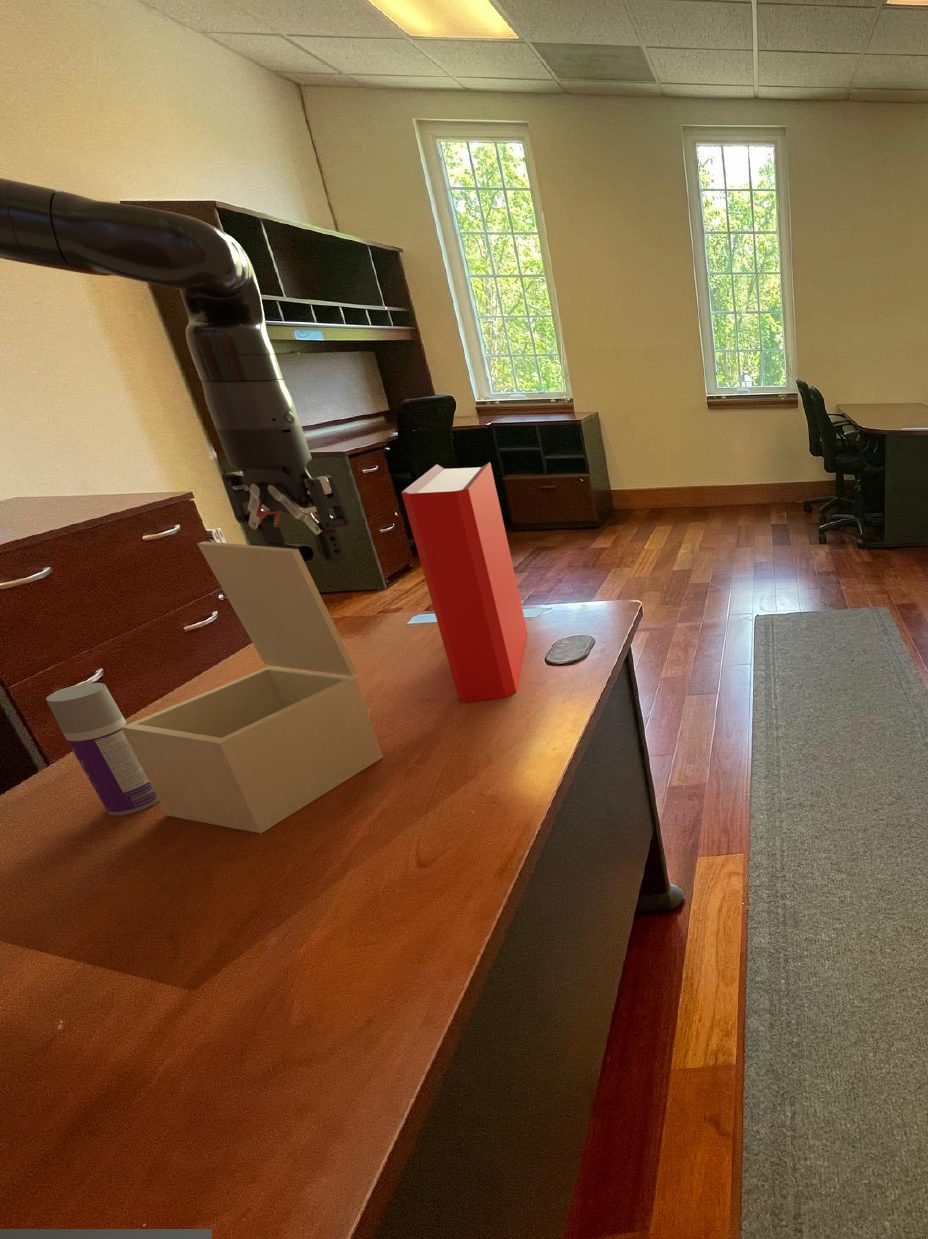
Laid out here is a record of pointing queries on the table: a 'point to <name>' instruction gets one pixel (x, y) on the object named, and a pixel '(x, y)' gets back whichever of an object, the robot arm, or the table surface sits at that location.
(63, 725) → the container
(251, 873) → the table surface
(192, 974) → the table surface
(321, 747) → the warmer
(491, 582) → the book
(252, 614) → the lid
